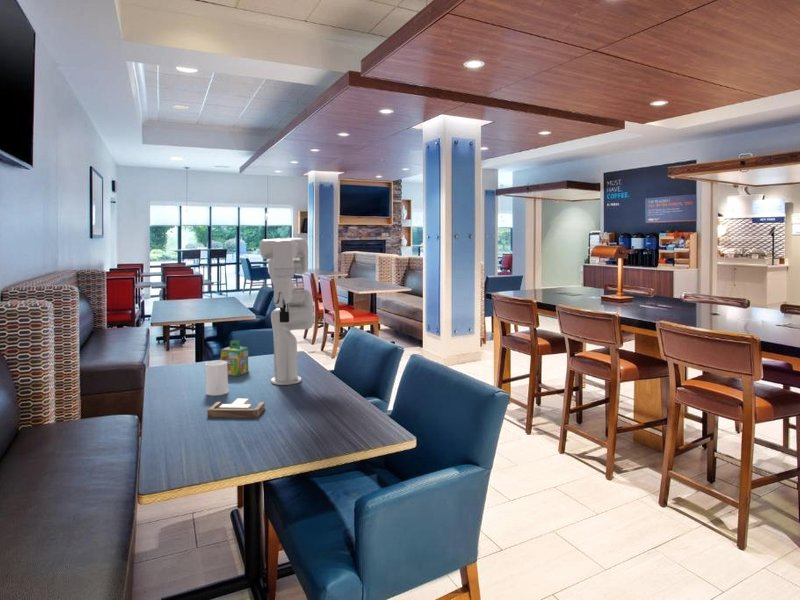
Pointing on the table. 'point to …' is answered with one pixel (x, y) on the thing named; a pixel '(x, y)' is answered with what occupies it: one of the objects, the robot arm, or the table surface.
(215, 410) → the brown u-shaped bracket
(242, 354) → the chalk box
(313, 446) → the table surface
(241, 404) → the t block
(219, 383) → the mug
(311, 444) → the table surface
